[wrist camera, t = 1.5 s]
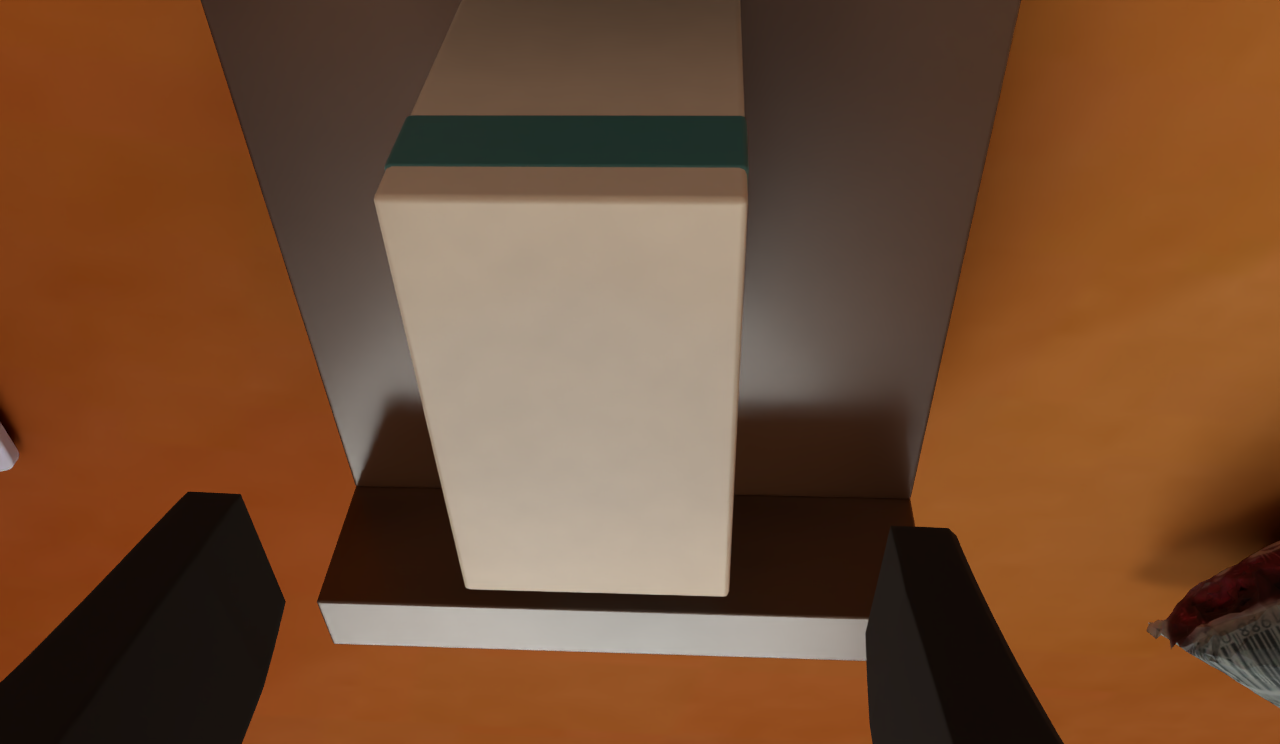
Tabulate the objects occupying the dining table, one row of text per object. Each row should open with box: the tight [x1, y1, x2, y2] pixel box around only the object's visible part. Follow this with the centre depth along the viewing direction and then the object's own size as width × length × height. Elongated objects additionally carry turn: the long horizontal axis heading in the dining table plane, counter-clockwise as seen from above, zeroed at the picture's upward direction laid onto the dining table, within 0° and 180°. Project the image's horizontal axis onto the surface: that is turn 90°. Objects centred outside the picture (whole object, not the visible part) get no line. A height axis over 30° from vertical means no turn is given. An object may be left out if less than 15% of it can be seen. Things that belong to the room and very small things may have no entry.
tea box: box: [374, 0, 749, 597], centre depth 15 cm, size 4×7×6 cm, turn 2°
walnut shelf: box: [201, 0, 1021, 661], centre depth 17 cm, size 12×18×6 cm, turn 2°
